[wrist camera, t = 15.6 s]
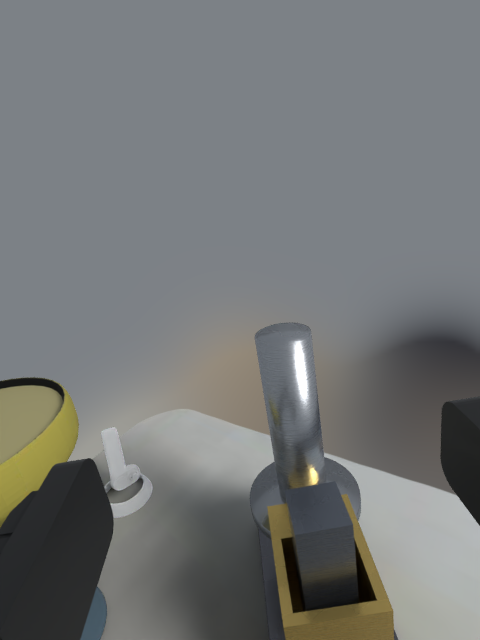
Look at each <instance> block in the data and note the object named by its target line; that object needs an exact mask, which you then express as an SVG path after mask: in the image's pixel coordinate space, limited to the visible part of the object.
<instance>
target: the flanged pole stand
mask: <svg viewBox="0 0 480 640" xmlns="http://www.w3.org/2000/svg"><path fill="white" fill-rule="evenodd" d="M255 342H256V349H257V355H258V361H259V367H260V374H261V379H262V386H263V392H264V399H265V405H266V411H267V417H268V423H269V429H270V436H271V442H272V448H273V455H274V461H275V462H273V463H272V464H270V465H269V466H267V467H266V468H265V469H263V470H262V471H261V472H260V474H259V475H258V476H257V477H256V479H255V481H254V483H253V485H252V488H251V492H250V504H251V509H252V514H253V518H254V521H255V523H256V524H257V526H258V529H259V539H260V549H261V559H262V569H263V579H264V589H265V599H266V608H267V618H268V628H269V638H270V640H398V638H397V636H396V633H395V630H394V623H393V609H392V607H391V604H390V602H389V599H388V596H387V594H386V591H385V589H384V586H383V584H382V581H381V579H380V576H379V574H378V571H377V569H376V566H375V564H374V561H373V558H372V556H371V553H370V551H369V548H368V546H367V543H366V541H365V538H364V536H363V533H362V531H361V528H360V525H359V523H358V520H359V517H360V513H361V498H360V490H359V487H358V484H357V482H356V480H355V478H354V477H353V476H352V474H351V473H350V472H349V471H348V470H347V469H346V468H345V467H343V466H342V465H340V464H339V463H337V462H335V461H333V460H331V459H328V458H325V457H324V451H323V442H322V432H321V424H320V423H321V422H320V413H319V404H318V394H317V385H316V375H315V365H314V355H313V347H312V336H311V329H310V328H309V327H308V326H306V325H303V324H299V323H279V324H274V325H271V326H268V327H265V328H263V329H261V330H259V331H258V332H257V333H256V335H255ZM334 481H336V484H337V486H338V489H339V491H340V494H341V496H342V499H343V501H344V504H345V506H346V508H347V511H348V513H349V516H350V518H351V521H352V523H353V530H354V543H355V556H356V568H357V581H358V594H359V603H357V604H351V605H344V606H338V607H331V608H325V609H318V610H311V611H305V612H303V607H302V600H301V594H300V587H299V581H298V574H297V568H296V561H295V555H294V548H293V542H292V536H291V529H290V523H289V516H288V510H287V503H286V497H285V490H289V489H294V488H300V487H305V486H311V485H317V484H322V483H328V482H334Z"/></svg>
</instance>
